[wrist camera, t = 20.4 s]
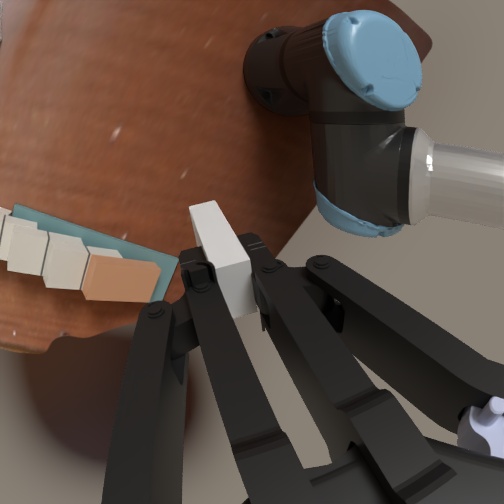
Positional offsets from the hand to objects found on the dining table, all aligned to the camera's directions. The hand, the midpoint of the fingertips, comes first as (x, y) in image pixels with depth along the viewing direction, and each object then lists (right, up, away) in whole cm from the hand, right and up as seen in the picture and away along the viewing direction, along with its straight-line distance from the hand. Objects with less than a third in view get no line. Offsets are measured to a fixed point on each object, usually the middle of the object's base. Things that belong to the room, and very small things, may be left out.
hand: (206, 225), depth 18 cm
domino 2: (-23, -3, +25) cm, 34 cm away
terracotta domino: (-13, -6, +31) cm, 34 cm away
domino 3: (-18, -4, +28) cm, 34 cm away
